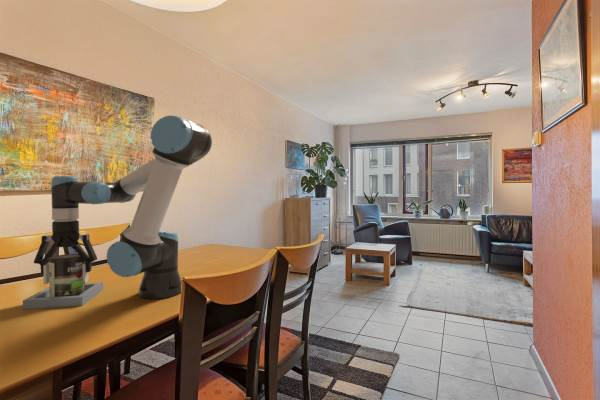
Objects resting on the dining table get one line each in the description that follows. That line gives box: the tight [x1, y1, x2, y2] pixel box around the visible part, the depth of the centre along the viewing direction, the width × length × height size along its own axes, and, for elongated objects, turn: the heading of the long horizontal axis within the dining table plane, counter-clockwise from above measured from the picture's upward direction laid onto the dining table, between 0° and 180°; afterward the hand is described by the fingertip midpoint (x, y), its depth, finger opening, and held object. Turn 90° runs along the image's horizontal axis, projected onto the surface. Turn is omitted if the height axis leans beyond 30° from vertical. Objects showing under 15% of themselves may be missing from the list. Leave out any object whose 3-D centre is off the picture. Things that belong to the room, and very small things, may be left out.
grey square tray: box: [22, 281, 104, 310], centre depth 110 cm, size 17×17×3 cm
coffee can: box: [48, 253, 86, 297], centre depth 110 cm, size 10×10×14 cm
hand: (66, 282), depth 110 cm, fingers open, 11 cm apart
